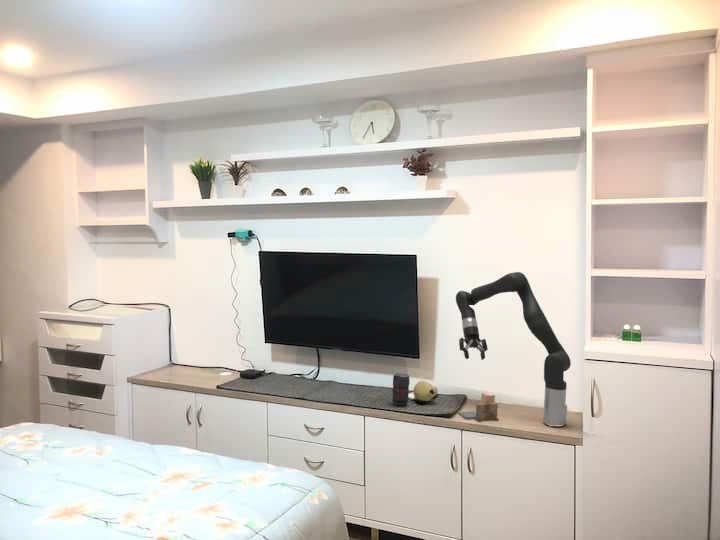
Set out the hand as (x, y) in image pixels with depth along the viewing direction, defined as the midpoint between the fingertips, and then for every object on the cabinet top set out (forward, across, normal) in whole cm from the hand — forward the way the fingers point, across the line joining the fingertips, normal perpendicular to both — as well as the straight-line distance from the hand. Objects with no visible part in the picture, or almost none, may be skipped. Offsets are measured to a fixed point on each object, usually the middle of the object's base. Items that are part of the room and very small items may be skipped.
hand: (475, 358), depth 292 cm
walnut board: (+31, -1, -3) cm, 31 cm away
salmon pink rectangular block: (+27, +3, +2) cm, 27 cm away
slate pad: (+28, -7, +2) cm, 29 cm away
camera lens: (+17, -33, +23) cm, 44 cm away
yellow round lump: (+15, -19, +24) cm, 34 cm away
